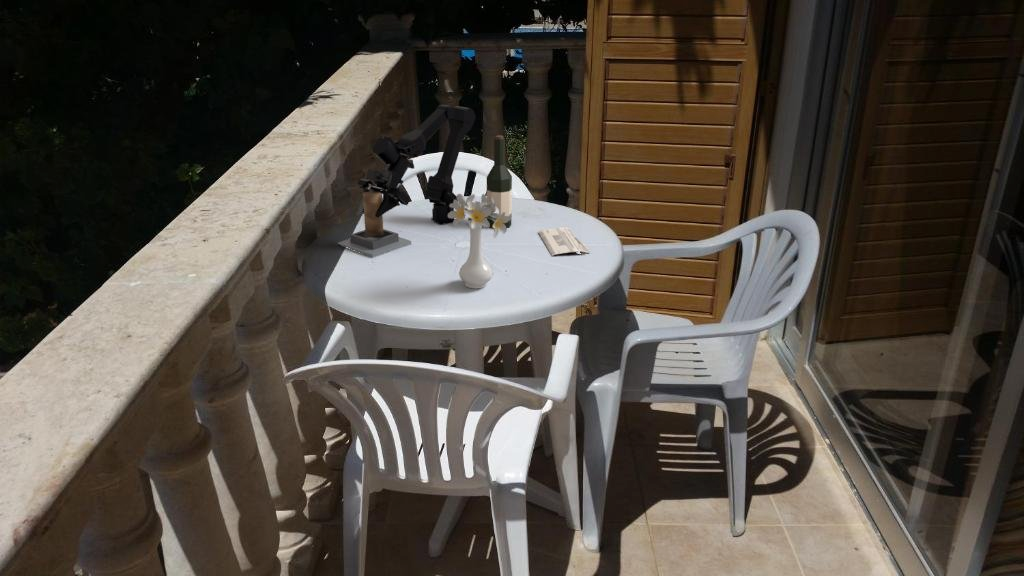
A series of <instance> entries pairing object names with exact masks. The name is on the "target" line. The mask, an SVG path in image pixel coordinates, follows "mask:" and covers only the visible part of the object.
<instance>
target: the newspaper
mask: <svg viewBox="0 0 1024 576" xmlns="http://www.w3.org/2000/svg"><path fill="white" fill-rule="evenodd" d="M538 234H539V235H538V236H540V238H541V240H542V241H544V242H543V243H544V245H545V247H546V249H547V250H548V252H549V253H550V256H551V257H554V256H555V255H560V254H561V255H562V254H568V253H575V252H578V251H580V253H581V254H584V255H586V254H588V253H591V251H590V249H588V248H587V246H586V245H585V244H584V243H583V241H581V240H580V239H579V238H578V237H577V236H575V234H574V233H573V231H572V230H571V228H568V227H567V226H566V227H555V228H549V229H541V230H540V231H539V230H538ZM576 237H577V238H578V239H577V238H576Z"/></svg>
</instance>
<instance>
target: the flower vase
mask: <svg viewBox="0 0 1024 576" xmlns="http://www.w3.org/2000/svg"><path fill="white" fill-rule="evenodd" d="M456 196H457V200H454V202H453V203H452V204H450V205H449V206H450V207H451V208H454V211H451V212H450V213H448V218H454V219H455V220H454V221H453V222H452V227H453V228H455V227H456V226H457V225H458V224H459V222H461V221H464V220H465V218H466V217H467V220H466V221H467V223H468V229H469V234H470V235H469V236H470V237H469V238H470V240H469V254H468V257H467V259H466V261H465V262H464V263H463V264H462V265H461V267H460V268H459V271H458V275H459V279H460V280H461V281H462V282H464V285H465V287H466V288H470V289H475V290H476V289H477V290H478V289H483V288H485V287H487V286H488V283H489V282H490V281H491V279H492V277H493V276H494V272H493V268H492V267H491V265H490V264H489V263H488V262H487V261H486V259H485V258H484V255H483V247H482V244H483V243H482V231H483V230H482V228H483V227H484V228H490V227H489V226H490V223H489V222H488V220H487V219H491V220H493V221H494V224H493V226H492V227H493V228H494V229H493V239H496V238H497V237H498V234H499V232H501V233H502V234H506V232H507V229H508V228H506V226H505V225H504V224H503V223H506V222H508V221H509V220H510V219H511V220H512V217H513V216H512V214H511V215H510V216H507V217H504V216H505V212H503V213H502V214H501V215H500V216H499V215H498V214H499V210H498V208H497V207H496V205H497V204H496V202H493V199H492V201H491V202H489V203H487V195H486V194H484V193H482V194H481V198H480V199H481V200H480V201H478V200H475V201H474V199H475V197H476V195H475V193H474V194H471V195H469V196H468V197H467V198H466V197H465V196H464V195H463V194H461V193H458V194H456ZM473 201H474V202H473ZM488 216H491V217H493V218H495V219H496V220H494V219H493V218H490V217H488Z"/></svg>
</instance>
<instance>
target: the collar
mask: <svg viewBox="0 0 1024 576" xmlns="http://www.w3.org/2000/svg"><path fill="white" fill-rule="evenodd" d="M338 244H340V245H342V246H345V247H348V248H350V249H352V250H355V251H357V252H356V253H358V252H360V253H359V254H361V253H362V254H361V255H363V254H365V255H364V256H366V255H367V257H368V258H376V257H378V256H381V255H384V253H385V254H387V253H389V252H392V251H395V249H396V250H398V248H399V249H401V248H403V247H404V248H405V247H406V246H409V245H412V240H409V239H407V238H403V237H401V236H399V233H397V232H394V231H391V230H389V229H384V228H383V235H382V236H380V237H368V236H366V234H365V229H364V230H360V231H357V232H354V233H351V234H349V238H348V239H345V240H342V241H338V242H337V245H338ZM352 250H351V251H352ZM355 251H354V252H355Z"/></svg>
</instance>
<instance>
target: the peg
mask: <svg viewBox="0 0 1024 576" xmlns="http://www.w3.org/2000/svg"><path fill="white" fill-rule="evenodd" d="M382 201H383V199H382V194H381V193H380V192H377V191H369V192H365V193H364V192H363V193H362V203H363V205H364V213H363V216H364V217H363V218H364V230H365V234H366V236H368V237H380V236H382V235H383V229H384V220H383V215H381V216H380V217H378V218H377V217H376V216H375V215H376V212H377V210H378V208H379V206H380V205H381V203H382Z"/></svg>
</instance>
